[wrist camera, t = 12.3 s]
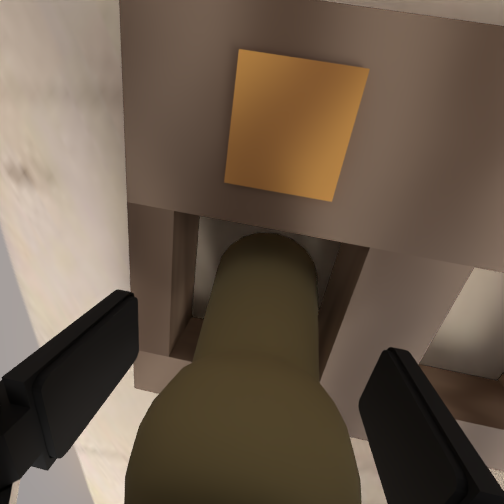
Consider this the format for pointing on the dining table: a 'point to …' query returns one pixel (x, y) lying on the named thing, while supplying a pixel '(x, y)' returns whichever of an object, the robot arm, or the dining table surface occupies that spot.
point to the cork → (249, 396)
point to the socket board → (319, 174)
